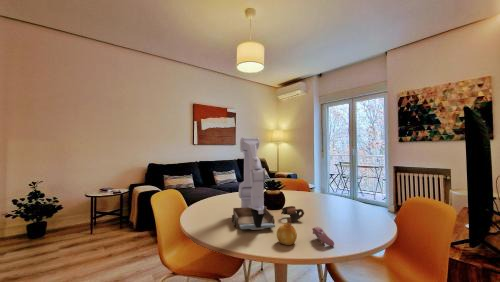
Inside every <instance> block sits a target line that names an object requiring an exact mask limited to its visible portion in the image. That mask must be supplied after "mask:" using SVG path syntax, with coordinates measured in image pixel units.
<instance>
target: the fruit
mask: <svg viewBox="0 0 500 282" xmlns="http://www.w3.org/2000/svg"><path fill="white" fill-rule="evenodd" d="M297 233H298V232H297V231H296V228H295V227H294V226H293V225H292V224H291V222H285V223H284V224H282V225H280V226H279V227H278V228H277V230H276V238H277V240H278V242H279V243H281V244H282V245H284V246H291V245H293V244H294V243H295V242H296V240H297V238H298V235H297Z"/></svg>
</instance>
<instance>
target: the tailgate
mask: <svg viewBox="0 0 500 282" xmlns="http://www.w3.org/2000/svg"><path fill="white" fill-rule="evenodd" d="M239 227H240V228H239V229H241V230H251V231H253V230H255V231H256V230H265V229H268V228H275V227H276V224H275V223H274V224H273V223H262V224H261V227H259V228H256V225H254V224H244V225H239Z"/></svg>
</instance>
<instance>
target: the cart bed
mask: <svg viewBox="0 0 500 282" xmlns="http://www.w3.org/2000/svg"><path fill="white" fill-rule="evenodd" d="M267 208H268V207H267V206H264V209H263V212H265V215H264V217H263V219H262V223H273V224H274V225H275V217H274V215H273V214H272V213H271V212H270V210H268V209H267ZM251 209H252V208H249V207H245V208H241V207H233V209H232V210H233V211H232V212H233V213H232V215H231V221H232V222H233V227H234V228H236V229H238V230H239V229H241V228H240V227H239V225H244V224H254V220H253V215H252V213H251Z"/></svg>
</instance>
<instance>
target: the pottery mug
mask: <svg viewBox="0 0 500 282" xmlns="http://www.w3.org/2000/svg"><path fill="white" fill-rule="evenodd" d="M300 213H301V214H300ZM281 215H287V216H289V217H286V220H287V222H286V223H299V220H300V219H301V218H303V217H304V215H305V212H304V210H303V209H302V208H296V206H294V205H290V206H285V207H283V208H281Z"/></svg>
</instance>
